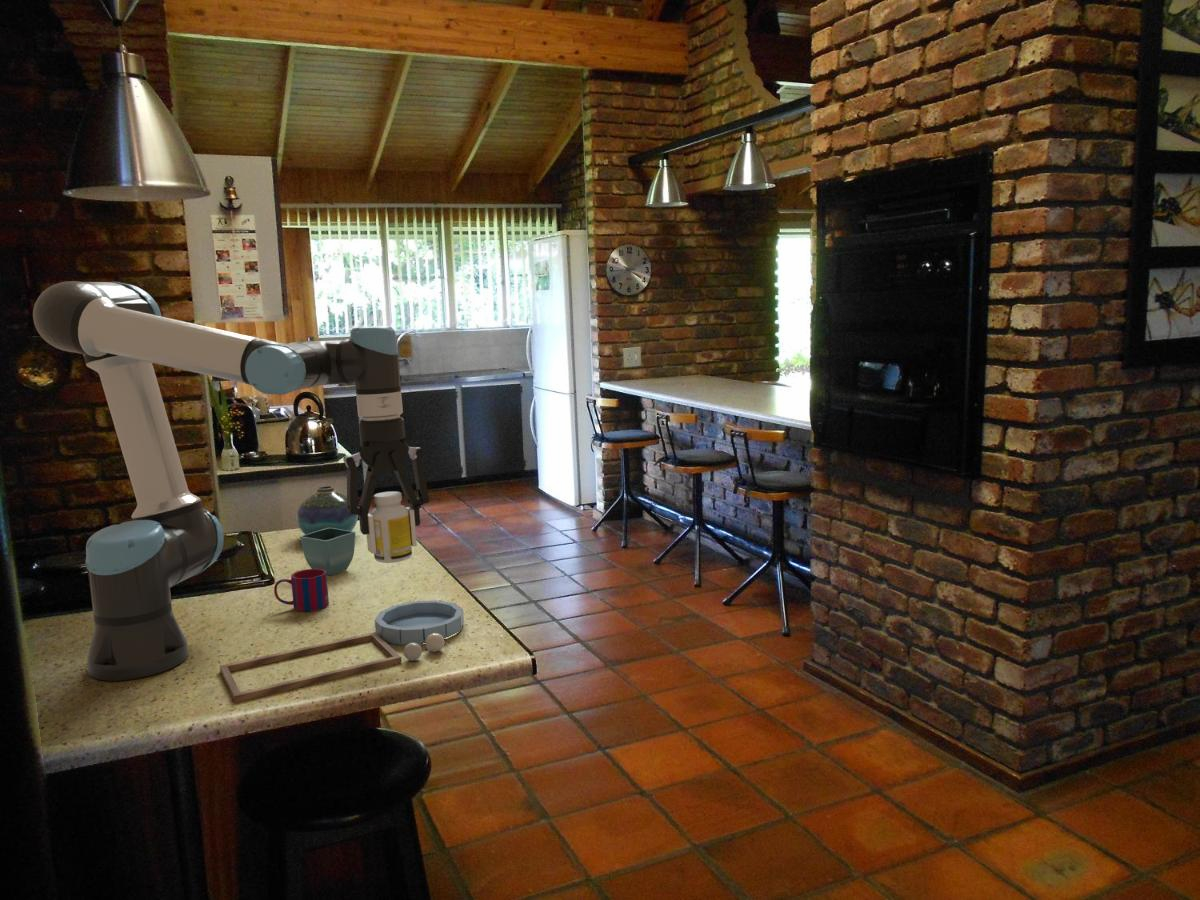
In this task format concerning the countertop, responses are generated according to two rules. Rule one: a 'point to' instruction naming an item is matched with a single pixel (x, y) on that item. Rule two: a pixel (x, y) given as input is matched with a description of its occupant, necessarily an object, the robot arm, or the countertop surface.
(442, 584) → the countertop surface
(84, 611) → the countertop surface
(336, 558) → the flower pot
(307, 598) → the mug
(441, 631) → the bowl
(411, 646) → the glossy pale sphere
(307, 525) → the vase
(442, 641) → the pebble
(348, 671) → the open rectangular frame
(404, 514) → the pill bottle
